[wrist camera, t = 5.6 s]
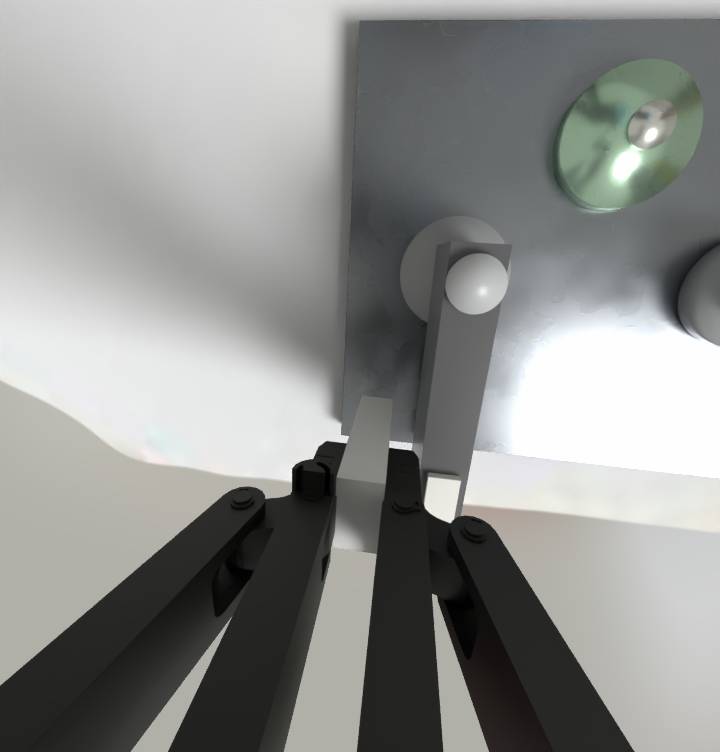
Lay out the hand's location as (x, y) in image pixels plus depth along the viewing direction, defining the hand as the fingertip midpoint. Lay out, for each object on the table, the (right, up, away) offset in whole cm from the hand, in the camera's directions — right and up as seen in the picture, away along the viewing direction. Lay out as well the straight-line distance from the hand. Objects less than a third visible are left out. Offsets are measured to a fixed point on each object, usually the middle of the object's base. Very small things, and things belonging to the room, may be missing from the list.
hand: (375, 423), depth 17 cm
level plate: (+10, +7, 0) cm, 12 cm away
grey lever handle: (+3, +4, +1) cm, 5 cm away
